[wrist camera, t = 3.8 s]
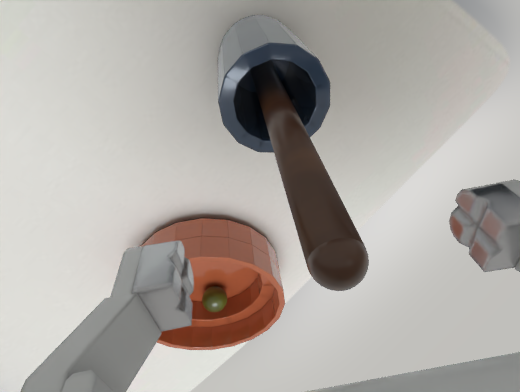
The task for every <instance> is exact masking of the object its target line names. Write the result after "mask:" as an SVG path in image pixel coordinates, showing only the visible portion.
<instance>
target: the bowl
mask: <svg viewBox="0 0 520 392" xmlns="http://www.w3.org/2000/svg"><path fill="white" fill-rule="evenodd" d="M178 240H179V241H181V242H182V244H183V246H184V248H185V254H184V257H186V258H187V259H189V260H190V263H191V266H192V270H193V276H194V291H193V292H192V294H191V295H190V296H189V297H190V299H191V301H192V303H193V310H192V325H191V326H186V327H181V328H177V329H172V330H167V331H162V332H161V333H162V334H161V336H160V337H159V339H158V340H157V343H160V344H163V345H166V346H169V347H174V348H181V349H187V350H213V349H219V348H225V347H231V346H235V345H238V344H240V343H243V342H246V341H249V340H252V339H254V338H255V337H257V336H259V335H260V334H262V333H263V332H265V331H267V330H268V329H269V328H270V327H271V326H272V325H273V324H274V323H275V322H276V321H277V320H278V319H279V317H280V315H281V313H282V310H283V307H284V305H285V300H284V293H283V287H282V282H281V277H280V272H279V267H278V262H277V257H276V252H275V250H274V249H273V248H272V246H271V245H270V243H269V242H268V240H267V239H266V238H265V237H264V236H262V235H261V234H259V233H258V232H257V231H255V230H254V229H252V228H251V227H249V226H246V225H242V224H239V223H236V222H233V221H230V220H223V219H207V218H203V219H202V218H200V219H194V220H189V221H183V222H178V223H175V224H173V225H170V226H168V227H166V228H164V229H162V230H159V231H157V232H156V233H155V234H154V235H152V236H151V237H150V238H149V239H148V240H147V241H146V242H145V243H144V244H143V245H142V246H146V245H152V244H159V243H165V242H172V241H178ZM142 246H141V247H142ZM212 286H218V287H221V288H222V289H223V290H224V291H225V292H226V294H227V303H226V306H225V307H224V308H223V309H222V310H221V311H219V312H209V311H208V310H206V309H205V308H204V306H203V303H202V296H203V294H204V292H205V291H206V290H207V289H208V288H210V287H212Z"/></svg>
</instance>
